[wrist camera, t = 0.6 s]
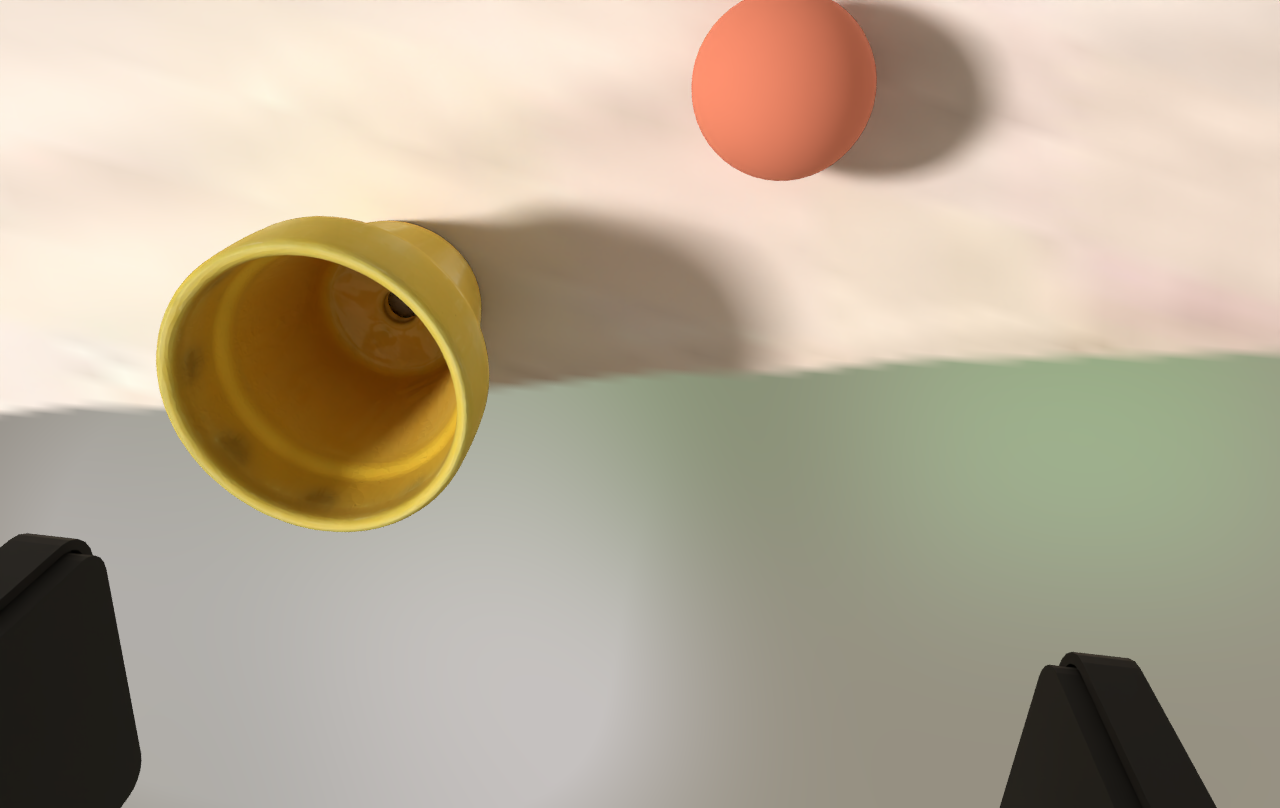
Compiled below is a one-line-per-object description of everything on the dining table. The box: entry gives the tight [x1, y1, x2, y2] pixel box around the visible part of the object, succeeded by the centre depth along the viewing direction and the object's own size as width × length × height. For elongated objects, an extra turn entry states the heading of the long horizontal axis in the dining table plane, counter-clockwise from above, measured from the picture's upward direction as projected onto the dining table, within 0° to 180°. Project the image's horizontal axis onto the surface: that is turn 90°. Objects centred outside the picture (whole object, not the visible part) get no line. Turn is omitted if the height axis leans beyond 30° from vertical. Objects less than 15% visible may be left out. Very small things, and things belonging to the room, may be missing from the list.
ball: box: [692, 0, 877, 181], centre depth 33 cm, size 6×6×6 cm
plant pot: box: [156, 216, 489, 532], centre depth 36 cm, size 10×10×10 cm
